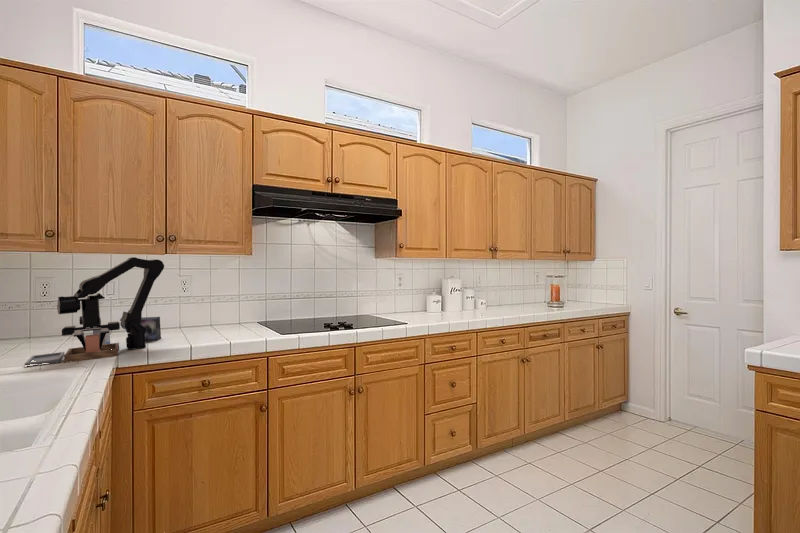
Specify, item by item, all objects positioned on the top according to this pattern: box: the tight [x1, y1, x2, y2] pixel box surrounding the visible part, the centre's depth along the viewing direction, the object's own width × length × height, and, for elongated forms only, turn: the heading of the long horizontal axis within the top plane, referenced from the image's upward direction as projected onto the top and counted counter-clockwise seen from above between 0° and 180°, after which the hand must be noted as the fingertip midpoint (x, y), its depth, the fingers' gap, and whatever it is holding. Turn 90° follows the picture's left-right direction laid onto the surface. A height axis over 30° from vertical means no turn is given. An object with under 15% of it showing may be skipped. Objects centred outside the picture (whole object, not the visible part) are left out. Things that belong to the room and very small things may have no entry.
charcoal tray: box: [24, 351, 66, 366], centre depth 165 cm, size 10×14×2 cm
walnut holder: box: [63, 342, 120, 363], centre depth 173 cm, size 17×15×2 cm
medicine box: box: [92, 330, 111, 345], centre depth 190 cm, size 8×4×9 cm, turn 22°
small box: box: [140, 316, 162, 343], centre depth 199 cm, size 11×6×10 cm, turn 101°
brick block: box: [84, 333, 100, 353], centre depth 173 cm, size 4×4×8 cm
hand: (93, 349), depth 173 cm, fingers closed on brick block, 4 cm apart
